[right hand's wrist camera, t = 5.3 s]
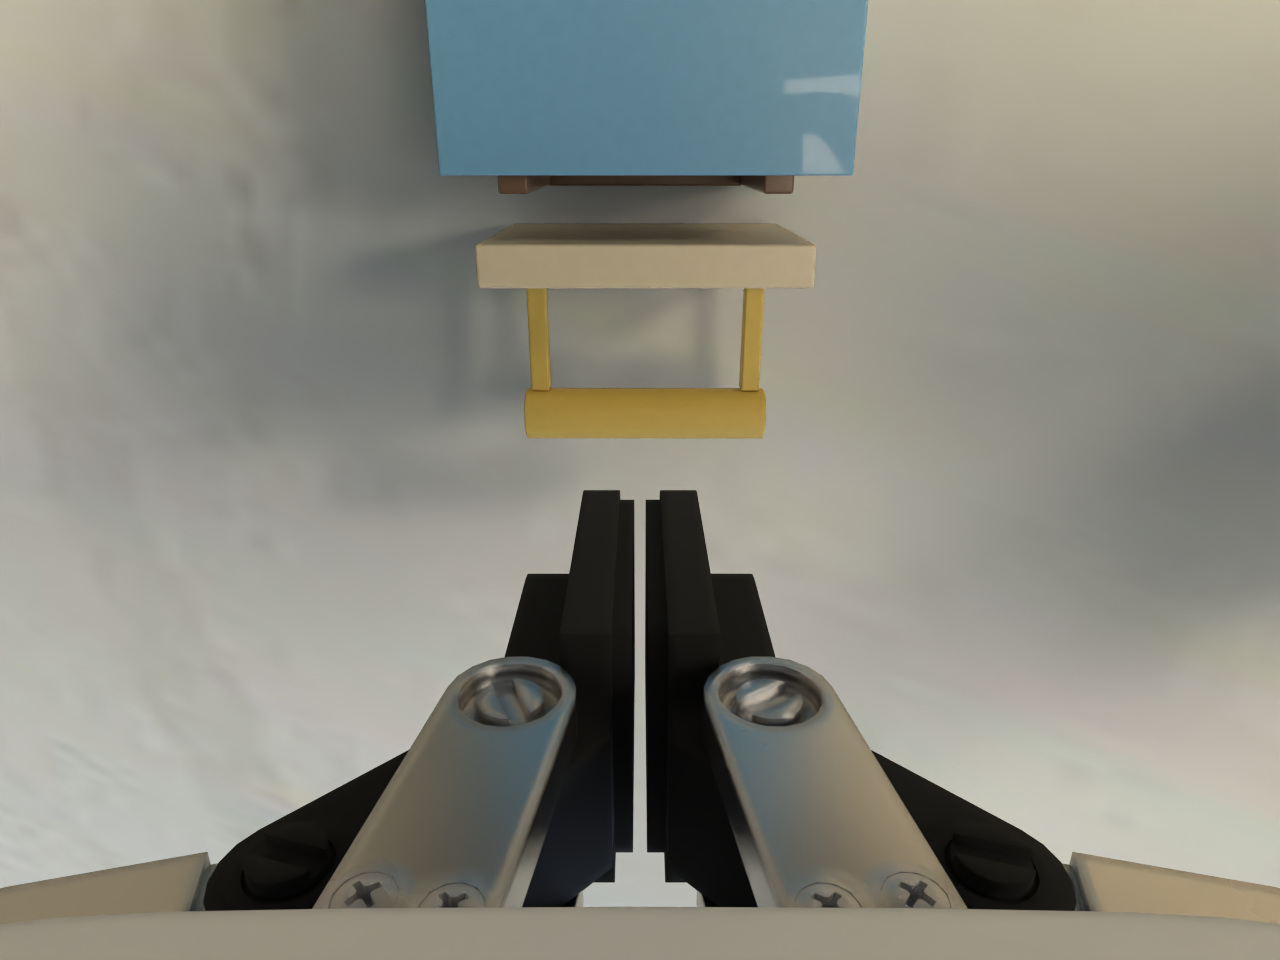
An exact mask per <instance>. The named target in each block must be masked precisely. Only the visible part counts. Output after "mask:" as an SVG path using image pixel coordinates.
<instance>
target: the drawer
mask: <svg viewBox="0 0 1280 960" xmlns="http://www.w3.org/2000/svg"><path fill="white" fill-rule="evenodd" d="M547 186H745V187H748V188H751V189H754V190H757V191H760V192H763V193H766V194H791V193H792V192H793V186H794V175H498V190H499V193H500V194H526V193H529V192H532V191H535V190H538V189H541V188H544V187H547ZM475 252H476V266H477V280H478V287H479V288H526V290H527V310H528V330H529V350H530V370H531V388H528V389H527V391H526V394H525V404H524V419H525V430H526V434H527V437H528V438H763V435H764V432H765V425H766V399H765V393H764V390H763V389H762V388H759V380H760V361H761V343H762V325H763V307H764V288H813V286H814V273H815V260H816V245H815V244H813V243H811V242H809V241H807V240H805V239H804V238H802V237H800V236H798V235H796V234H794V233H792V232H790V231H789V230H787V229H785V228H783V227H781V226H779V225H777V224H513V225H511V226H510V227H508V228H506V229H504V230H502V231H500V232H499V233H497V234H495V235H493V236H491V237H490V238H488V239H486V240H484V241H482V242H480V243H479V244H477V245H476V246H475ZM547 288H744V293H743V315H742V337H741V359H740V381H739V386H740V388H550V386H551V371H550V347H549V322H548V298H547Z"/></svg>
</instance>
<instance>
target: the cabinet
mask: <svg viewBox="0 0 1280 960" xmlns="http://www.w3.org/2000/svg"><path fill="white" fill-rule="evenodd" d="M425 8H426V20H427V32H428V44H429V55H430V67H431V79H432V91H433V103H434V115H435V127H436V139H437V150H438V162H439V173H440V175H852V174H853V166H854V155H855V144H856V133H857V122H858V110H859V99H860V88H861V77H862V65H863V54H864V43H865V32H866V21H867V9H868V0H425Z"/></svg>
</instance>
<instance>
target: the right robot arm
mask: <svg viewBox="0 0 1280 960" xmlns="http://www.w3.org/2000/svg"><path fill="white" fill-rule="evenodd" d="M634 688H635V605H634V500H620V490H584V491H583V496H582V502H581V508H580V514H579V520H578V526H577V532H576V538H575V544H574V550H573V555H572V561H571V567H570V573H569V574H528V575H527V577H526V580H525V584H524V587H523V591H522V595H521V598H520V602H519V606H518V610H517V613H516V617H515V621H514V624H513V628H512V632H511V636H510V639H509V643H508V647H507V650H506V654H505V657H504V658H499V659H493V660H489V661H486V662H484V663H481V664H478V665H475V666H473V667H471V668H469V669H468V670H466V671H465V672H463V673H462V674H460V675H458V676H457V677H456V678H455V680H454V681H453V682H452V683H451V684H450V685H449V686H448V687H447V689H446V691H445V692H444V694H443V696H442V697H441V699H440V700H439V702H438V704H437V705H436V707H435V709H434V710H433V712H432V714H431V715H430V717H429V718H428V720H427V722H426V723H425V725H424V727H423V728H422V730H421V732H420V733H419V735H418V736H417V738H416V740H415V741H414V743H413V745H412V746H411V748H410V749H409V750H408V751H406V752H404V753H402V754H401V755H399V756H397V757H395V758H393V759H391V760H389V761H387V762H386V763H384V764H382V765H380V766H378V767H376V768H374V769H372V770H370V771H369V772H367V773H365V774H363V775H361V776H359V777H357V778H355V779H354V780H352V781H350V782H348V783H346V784H344V785H342V786H340V787H339V788H337V789H335V790H333V791H331V792H329V793H327V794H325V795H324V796H322V797H320V798H318V799H316V800H314V801H312V802H310V803H309V804H307V805H305V806H303V807H301V808H299V809H297V810H295V811H294V812H292V813H290V814H288V815H286V816H284V817H282V818H280V819H279V820H277V821H275V822H273V823H271V824H269V825H267V826H265V827H264V828H262V829H260V830H258V831H257V832H255V833H254V834H252V835H250V836H249V837H247V838H246V839H244V840H243V841H241V842H240V843H238V844H237V845H236V846H235V847H234V848H233V849H232V850H231V851H230V852H229V853H228V854H227V855H226V856H225V857H224V858H223V859H222V860H221V861H220V862H219V863H218V864H213V865H211V864H210V860H209V856H208V852H204V853H198V854H193V855H187V856H181V857H175V858H170V859H164V860H158V861H152V862H147V863H141V864H135V865H129V866H124V867H118V868H112V869H106V870H101V871H95V872H89V873H84V874H78V875H72V876H66V877H61V878H55V879H49V880H43V881H38V882H32V883H26V884H20V885H15V886H9V887H4V888H0V960H1280V888H1276V887H1271V886H1265V885H1260V884H1254V883H1248V882H1242V881H1237V880H1231V879H1225V878H1219V877H1214V876H1208V875H1202V874H1196V873H1191V872H1185V871H1179V870H1174V869H1168V868H1162V867H1156V866H1151V865H1145V864H1139V863H1133V862H1128V861H1122V860H1116V859H1110V858H1105V857H1099V856H1093V855H1087V854H1082V853H1076V852H1072V856H1071V860H1070V864H1069V865H1067V864H1062V863H1061V862H1060V861H1059V860H1058V859H1057V858H1056V857H1055V856H1054V855H1053V854H1052V853H1051V852H1050V851H1049V850H1048V849H1047V848H1046V847H1045V846H1044V845H1043V844H1042V843H1040V842H1039V841H1037V840H1036V839H1034V838H1033V837H1031V836H1030V835H1028V834H1026V833H1025V832H1023V831H1022V830H1020V829H1018V828H1016V827H1015V826H1013V825H1011V824H1009V823H1007V822H1005V821H1003V820H1001V819H1000V818H998V817H996V816H994V815H992V814H990V813H988V812H986V811H985V810H983V809H981V808H979V807H977V806H975V805H973V804H971V803H970V802H968V801H966V800H964V799H962V798H960V797H958V796H956V795H955V794H953V793H951V792H949V791H947V790H945V789H943V788H941V787H940V786H938V785H936V784H934V783H932V782H930V781H928V780H926V779H925V778H923V777H921V776H919V775H917V774H915V773H913V772H911V771H910V770H908V769H906V768H904V767H902V766H900V765H898V764H896V763H894V762H893V761H891V760H889V759H887V758H885V757H883V756H881V755H879V754H878V753H876V752H874V751H872V750H871V749H870V748H869V746H868V745H867V743H866V741H865V740H864V738H863V736H862V735H861V733H860V732H859V730H858V728H857V727H856V725H855V723H854V722H853V720H852V718H851V717H850V715H849V714H848V712H847V710H846V709H845V707H844V705H843V704H842V702H841V700H840V699H839V697H838V696H837V694H836V692H835V691H834V689H833V687H832V686H831V685H830V684H829V683H828V682H827V681H826V680H825V678H824V677H823V676H822V675H820V674H818V673H817V672H815V671H814V670H812V669H811V668H809V667H807V666H805V665H802V664H799V663H796V662H794V661H791V660H787V659H781V658H776V657H775V654H774V650H773V647H772V643H771V639H770V636H769V632H768V628H767V624H766V621H765V617H764V613H763V610H762V606H761V602H760V598H759V595H758V591H757V587H756V584H755V580H754V577H753V575H752V574H711V573H710V567H709V561H708V555H707V550H706V544H705V538H704V532H703V526H702V520H701V514H700V508H699V502H698V496H697V491H696V490H660V500H646V604H645V688H646V785H647V852H664V857H665V882H687V883H688V884H690V885H691V886H692V887H693V888H695V889H696V890H697V907H583V890H584V889H585V888H587V887H588V886H589V885H590V884H592V883H593V882H615V857H616V852H633V785H634Z"/></svg>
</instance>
